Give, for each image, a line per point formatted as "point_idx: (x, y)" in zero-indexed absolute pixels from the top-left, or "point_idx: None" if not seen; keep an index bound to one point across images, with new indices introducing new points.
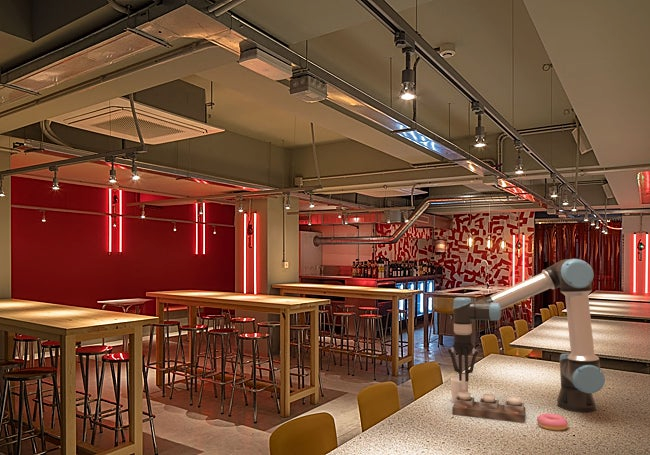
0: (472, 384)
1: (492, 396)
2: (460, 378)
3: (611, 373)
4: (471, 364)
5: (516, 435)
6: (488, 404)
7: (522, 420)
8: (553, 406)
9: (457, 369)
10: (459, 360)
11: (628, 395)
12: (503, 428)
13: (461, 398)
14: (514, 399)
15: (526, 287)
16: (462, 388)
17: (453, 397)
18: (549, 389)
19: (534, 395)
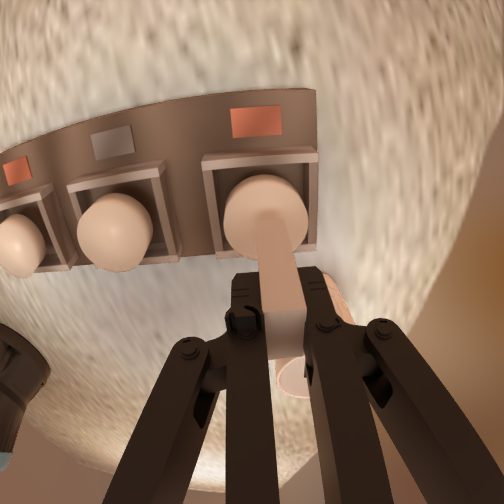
0: (288, 425)
1: (86, 234)
2: (311, 282)
3: (103, 467)
4: (164, 437)
5: (6, 5)
6: (108, 175)
7: (4, 151)
8: (42, 347)
9: (366, 350)
10: (370, 468)
11: (26, 412)
12: (43, 33)
13: (277, 177)
14: (1, 234)
15: None
16: (279, 222)
17: (335, 289)
18: (120, 430)
19: (120, 403)
